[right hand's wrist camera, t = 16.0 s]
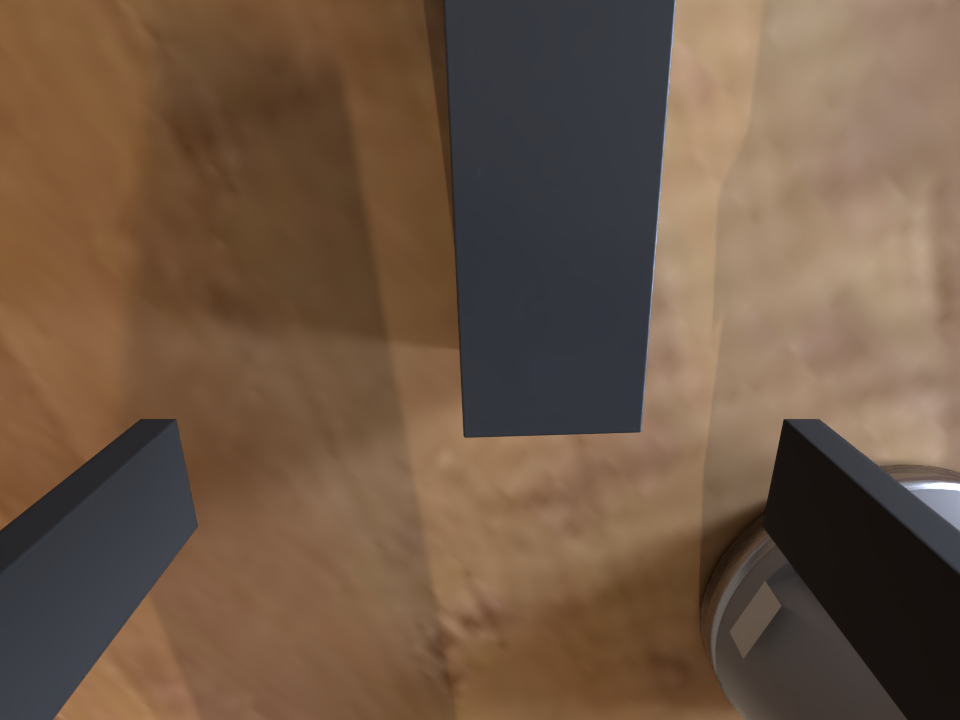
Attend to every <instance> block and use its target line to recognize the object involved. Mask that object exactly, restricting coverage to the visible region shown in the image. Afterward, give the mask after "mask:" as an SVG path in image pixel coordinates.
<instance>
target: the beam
mask: <svg viewBox="0 0 960 720" xmlns="http://www.w3.org/2000/svg"><path fill="white" fill-rule="evenodd" d="M675 7H676V0H443V10H444V31H445V52H446V74H447V95H448V116H449V137H450V158H451V179H452V200H453V221H454V242H455V263H456V284H457V306H458V327H459V348H460V369H461V390H462V411H463V432H464V437H465V438H470V437H502V436H535V435H568V434H600V433H633V432H641V428H642V416H643V403H644V391H645V378H646V366H647V354H648V341H649V329H650V316H651V304H652V292H653V279H654V267H655V255H656V242H657V230H658V217H659V205H660V193H661V180H662V168H663V155H664V143H665V131H666V118H667V106H668V93H669V81H670V69H671V56H672V44H673V31H674V19H675Z"/></svg>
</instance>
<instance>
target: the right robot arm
mask: <svg viewBox="0 0 960 720" xmlns="http://www.w3.org/2000/svg"><path fill="white" fill-rule="evenodd" d="M197 527H198V525H197V520H196V515H195V510H194V505H193V500H192V495H191V490H190V485H189V480H188V475H187V470H186V465H185V460H184V455H183V450H182V446H181V441H180V436H179V431H178V426H177V421H176V419H140V420H139V421H138V422H137V423H135V424H134V425H133V426H132V427H130V428H129V429H128V430H127V431H125V432H124V433H123V434H122V435H120V436H119V437H118V438H117V439H115V440H114V441H113V442H111V443H110V444H109V445H108V446H106V447H105V448H104V449H103V450H101V451H100V452H99V453H98V454H96V455H95V456H94V457H93V458H91V459H90V460H89V461H88V462H86V463H85V464H84V465H83V466H81V467H80V468H79V469H77V470H76V471H75V472H74V473H72V474H71V475H70V476H69V477H67V478H66V479H65V480H64V481H62V482H61V483H60V484H59V485H57V486H56V487H55V488H54V489H52V490H51V491H50V492H48V493H47V494H46V495H45V496H43V497H42V498H41V499H40V500H38V501H37V502H36V503H35V504H33V505H32V506H31V507H30V508H28V509H27V510H26V511H25V512H23V513H22V514H21V515H20V516H18V517H17V518H16V519H14V520H13V521H12V522H11V523H9V524H8V525H7V526H6V527H4V528H3V529H2V530H1V531H0V720H53V719H54V718H55V716H56V715H57V714H58V712H59V711H60V710H61V708H62V707H63V706H64V704H65V703H66V702H67V700H68V699H69V698H70V696H71V695H72V694H73V692H74V691H75V690H76V688H77V687H78V686H79V684H80V683H81V682H82V680H83V679H84V678H85V676H86V675H87V674H88V672H89V671H90V670H91V668H92V667H93V666H94V664H95V663H96V662H97V660H98V659H99V658H100V656H101V655H102V654H103V652H104V651H105V650H106V648H107V647H108V645H109V644H110V643H111V641H112V640H113V639H114V637H115V636H116V635H117V633H118V632H119V631H120V629H121V628H122V627H123V625H124V624H125V623H126V621H127V620H128V619H129V617H130V616H131V615H132V613H133V612H134V611H135V609H136V608H137V607H138V605H139V604H140V603H141V601H142V600H143V599H144V597H145V596H146V595H147V593H148V592H149V591H150V589H151V588H152V587H153V585H154V584H155V583H156V581H157V580H158V579H159V577H160V576H161V575H162V573H163V572H164V571H165V569H166V568H167V567H168V565H169V564H170V563H171V561H172V560H173V559H174V557H175V556H176V555H177V553H178V552H179V551H180V549H181V548H182V547H183V545H184V544H185V543H186V541H187V540H188V539H189V537H190V536H191V535H192V533H193V532H194V531H195V529H196V528H197ZM700 625H701V636H702V641H703V645H704V648H705V651H706V654H707V656H708V658H709V661H710V663H711V665H712V667H713V670H714V672H715V674H716V676H717V679H718V681H719V683H720V685H721V687H722V689H723V691H724V693H725V695H726V696H727V698H728V699H729V701H730V702H731V704H732V705H733V706H734V707H735V708H736V709H737V711H738V712H739V713H740V714H741V715H742V717H743V718H744V719H745V720H960V473H958V472H955V471H952V470H948V469H943V468H938V467H931V466H921V465H893V466H881V467H879V466H877V465H876V464H875V463H874V462H872V461H871V460H870V459H869V458H867V457H866V456H865V455H864V454H862V453H861V452H860V451H859V450H857V449H856V448H855V447H854V446H852V445H851V444H850V443H849V442H847V441H846V440H845V439H843V438H842V437H841V436H840V435H838V434H837V433H836V432H835V431H833V430H832V429H831V428H830V427H828V426H827V425H826V424H825V423H823V422H822V421H821V420H820V419H784V421H783V426H782V431H781V436H780V441H779V446H778V450H777V455H776V460H775V465H774V470H773V475H772V480H771V485H770V490H769V495H768V500H767V505H766V510H765V513H764V514H763V515H762V516H761V517H759V518H758V519H757V520H756V521H754V522H753V523H752V524H751V525H750V526H749V527H748V528H747V529H746V530H745V531H744V532H743V533H742V534H741V535H740V536H739V537H738V538H737V539H736V540H735V541H734V542H733V544H732V545H731V546H730V547H729V548H728V550H727V551H726V553H725V554H724V555H723V557H722V558H721V560H720V561H719V563H718V565H717V566H716V568H715V570H714V572H713V574H712V576H711V578H710V580H709V582H708V585H707V588H706V591H705V594H704V597H703V602H702V607H701V617H700Z"/></svg>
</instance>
